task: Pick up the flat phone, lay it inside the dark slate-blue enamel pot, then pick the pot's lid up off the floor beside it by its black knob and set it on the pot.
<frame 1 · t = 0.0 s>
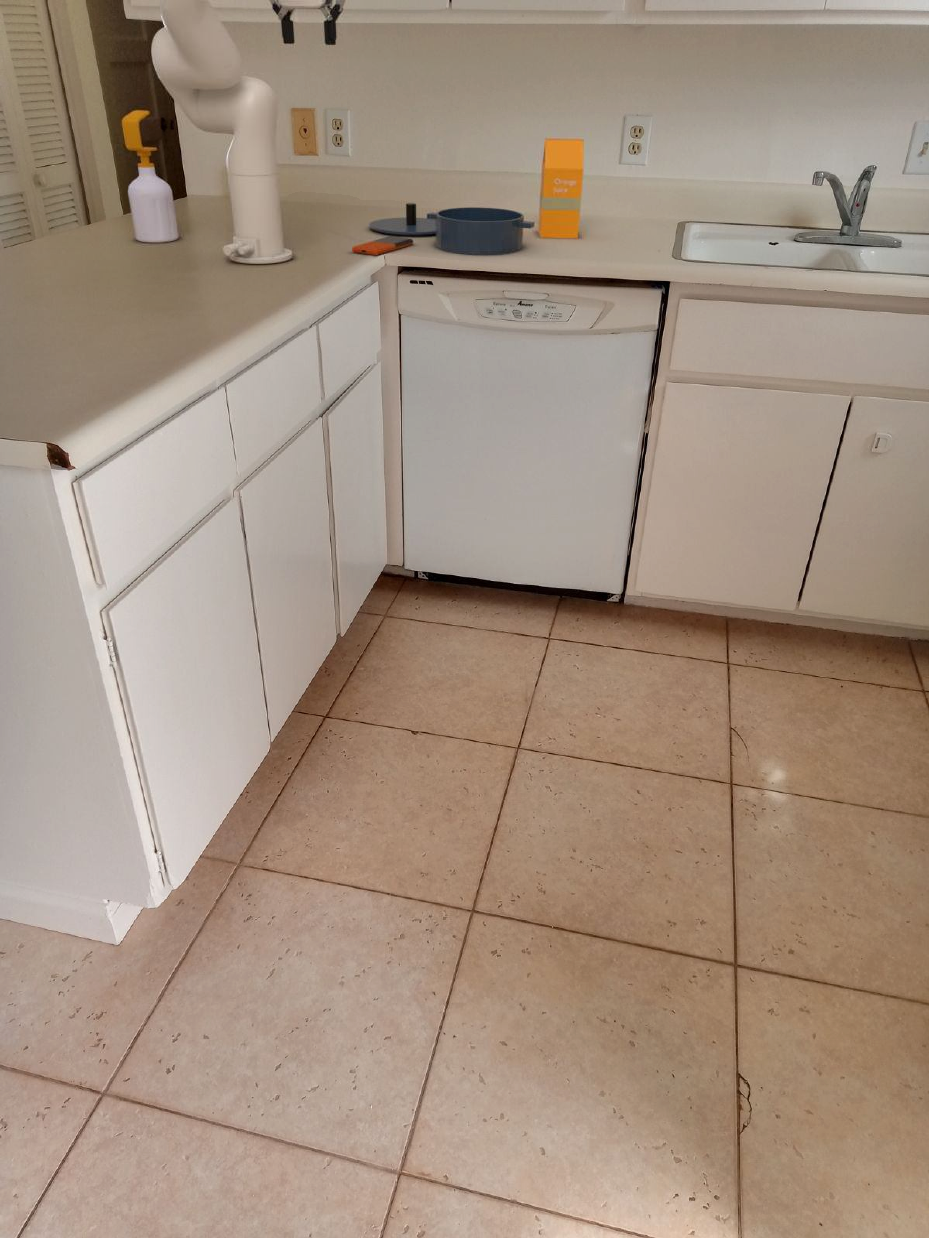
hand: (309, 44, 179), 37 cm above the worktop, tool pointing down, fingers open, 9 cm apart
phone: (383, 249, 191), on the worktop
pot: (479, 246, 196), on the worktop
lid: (411, 227, 211), point 1 cm above the worktop
soap bottle: (157, 240, 195), on the worktop
orange juice: (557, 235, 210), on the worktop
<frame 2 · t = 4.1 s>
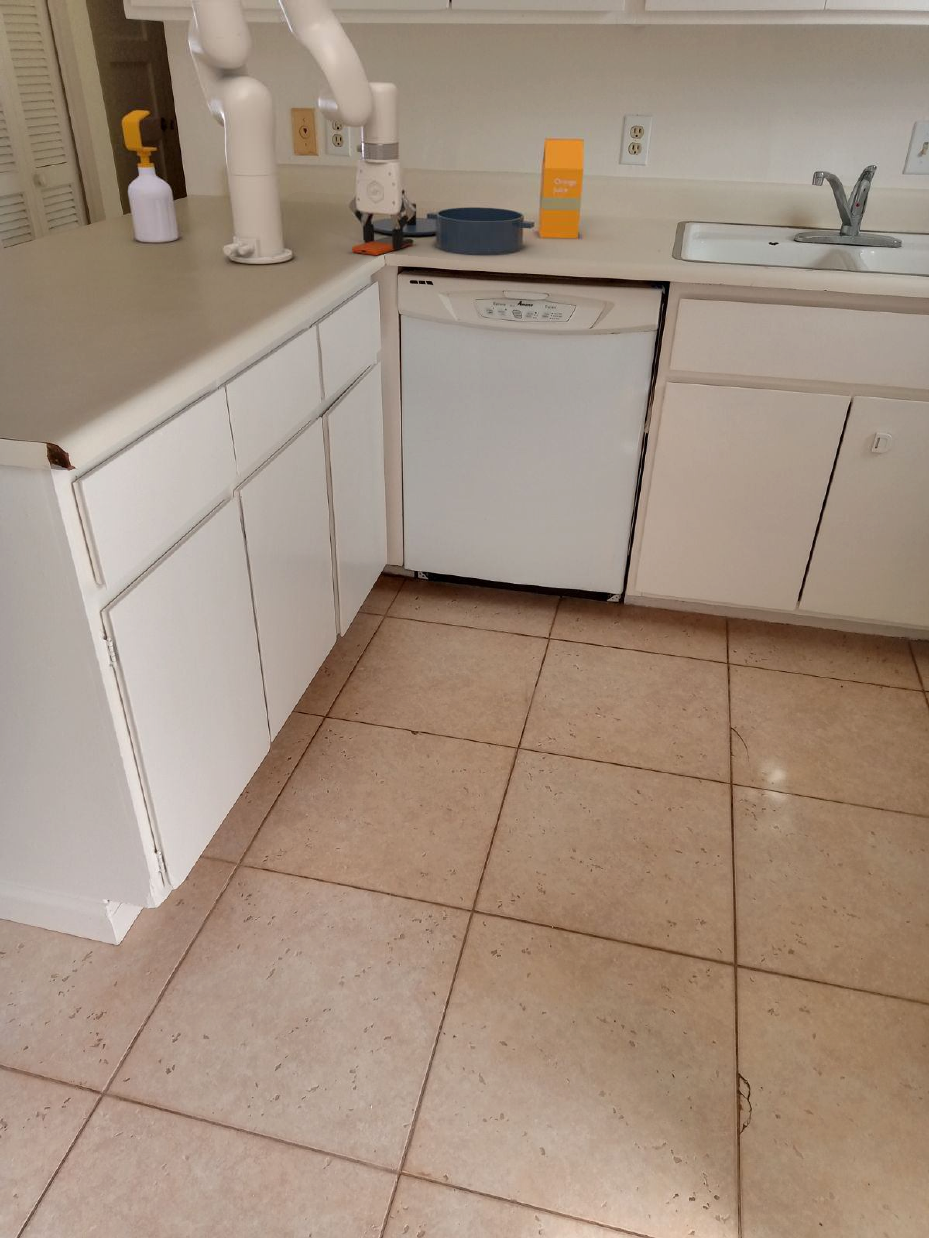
hand: (383, 246, 191), 1 cm above the worktop, tool pointing down, fingers closed on phone, 6 cm apart
phone: (383, 249, 191), on the worktop, touching gripper
everything else where it was.
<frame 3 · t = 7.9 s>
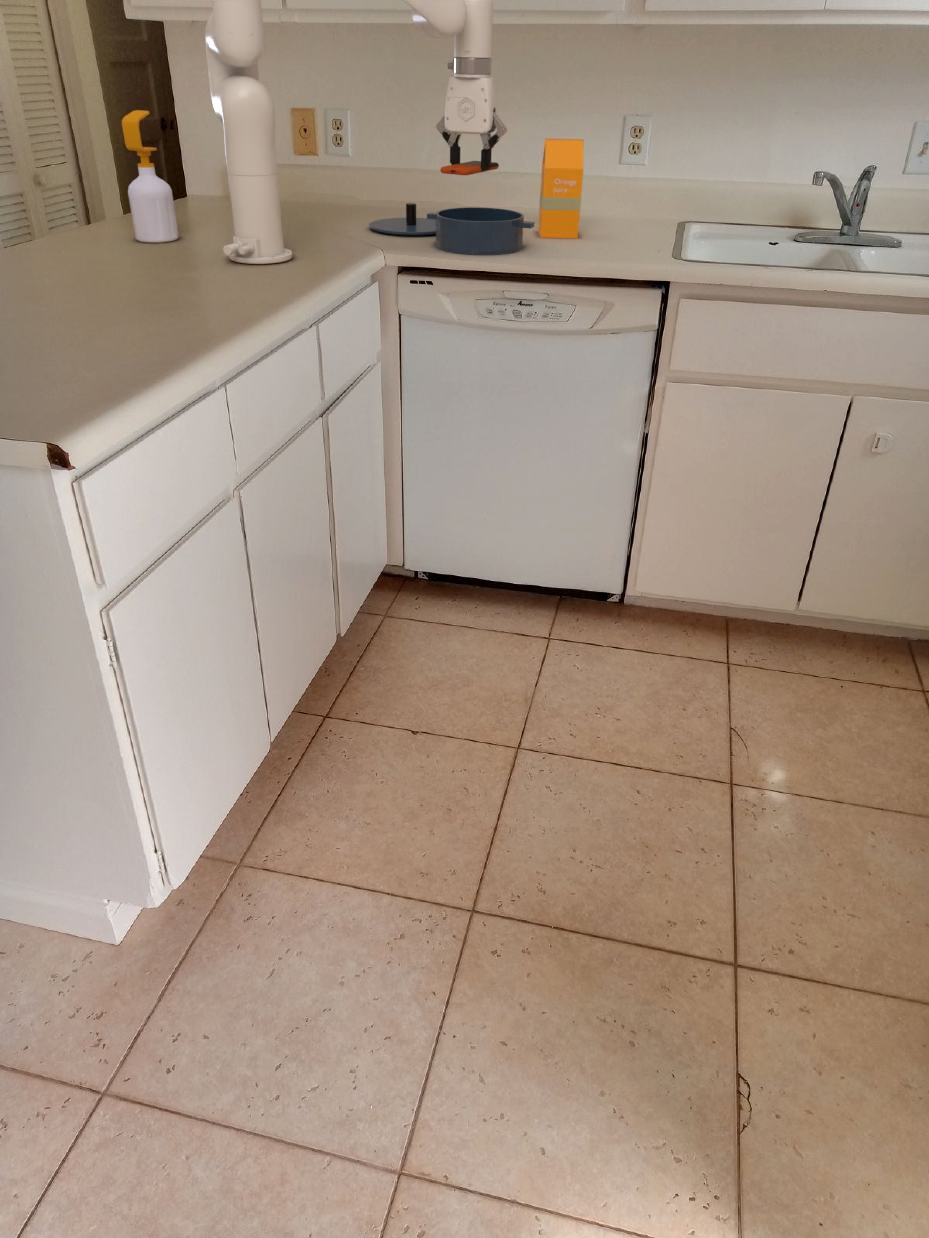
hand: (470, 168, 187), 15 cm above the worktop, tool pointing down, fingers closed on phone, 6 cm apart
phone: (470, 172, 187), point 15 cm above the worktop, touching gripper
everything else where it was.
when the fingers open (1 cm above the worktop, at t = 11.9 s): phone stays where it is, resting on pot.
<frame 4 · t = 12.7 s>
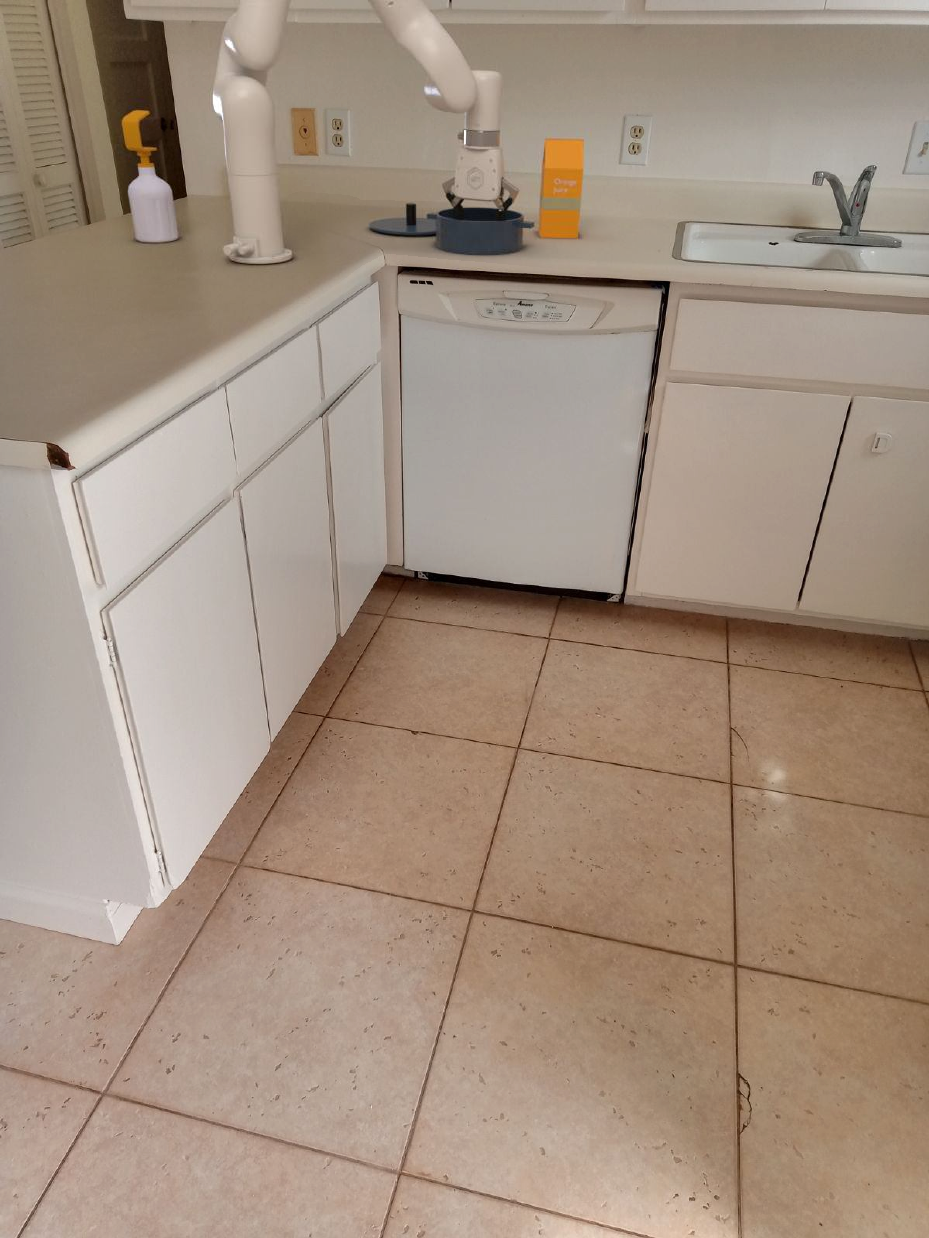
hand: (478, 228, 194), 4 cm above the worktop, tool pointing down, fingers open, 9 cm apart
phone: (478, 244, 196), resting on pot
everything else where it was.
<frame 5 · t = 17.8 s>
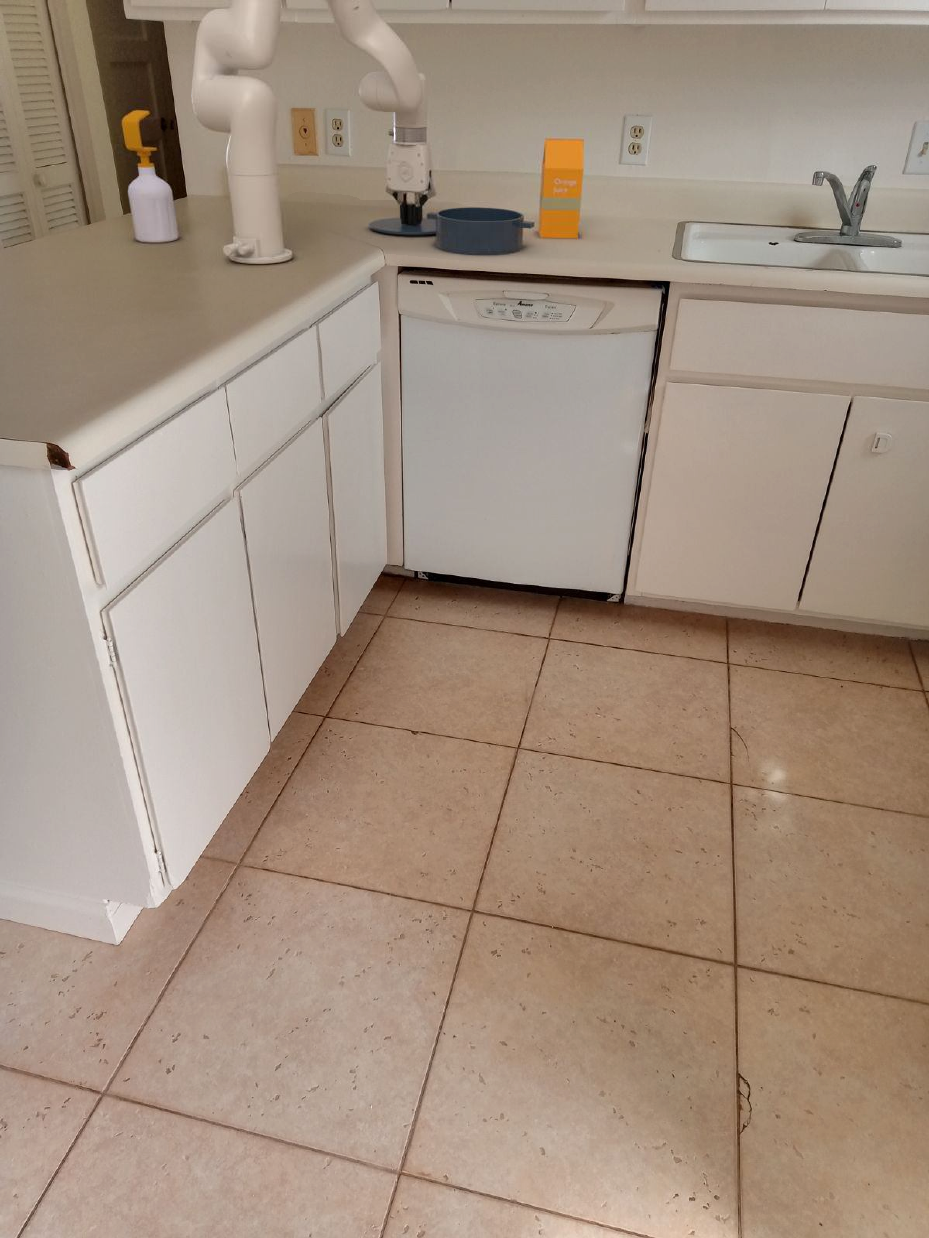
hand: (411, 223, 211), 1 cm above the worktop, tool pointing down, fingers closed on lid, 2 cm apart
lid: (411, 227, 211), point 1 cm above the worktop, touching gripper
everything else where it was.
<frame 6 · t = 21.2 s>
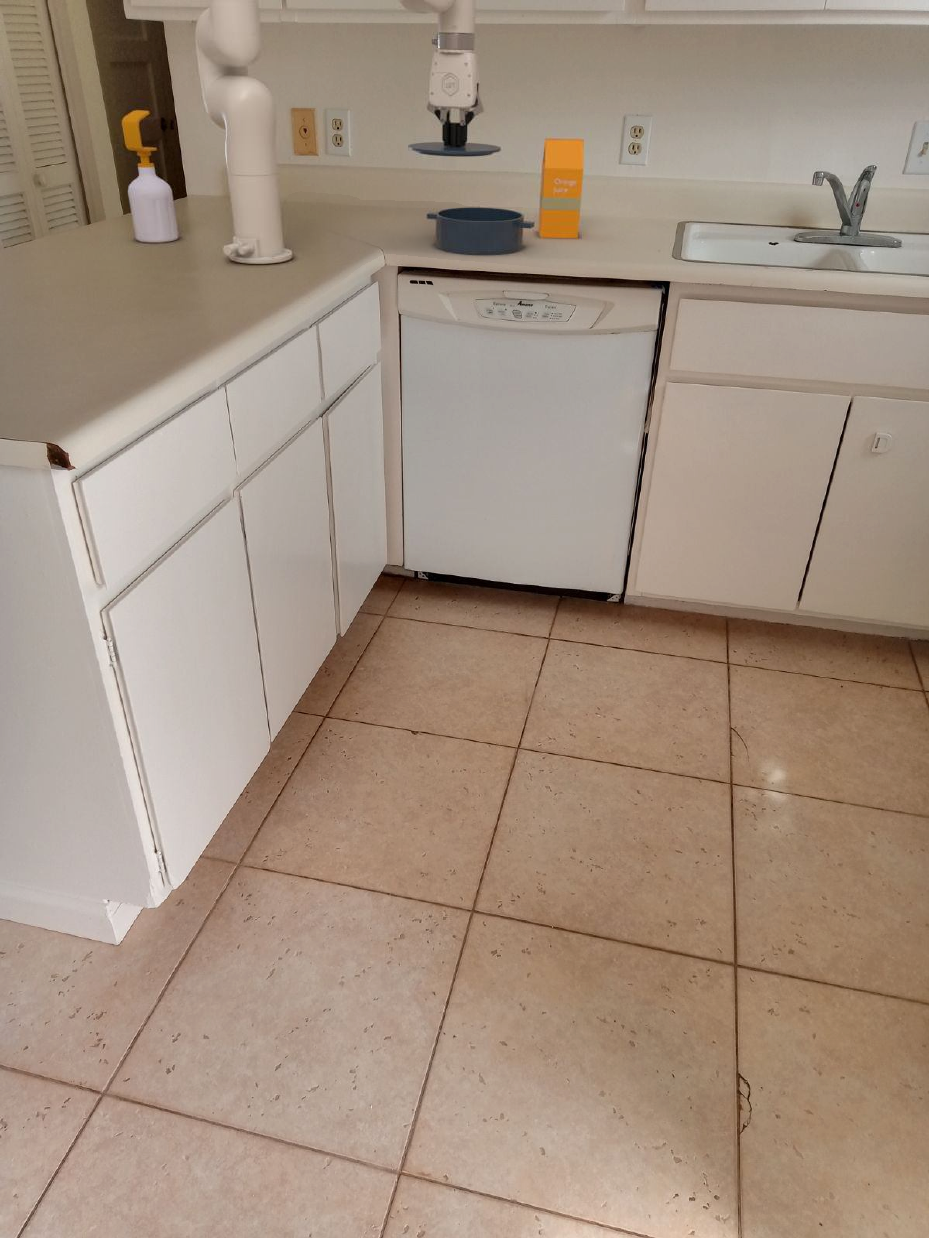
hand: (454, 145, 191), 19 cm above the worktop, tool pointing down, fingers closed on lid, 2 cm apart
lid: (454, 149, 192), point 18 cm above the worktop, touching gripper
everything else where it was.
when the fingers open (7 cm above the worktop, at t = 24.9 s): lid stays where it is, resting on pot.
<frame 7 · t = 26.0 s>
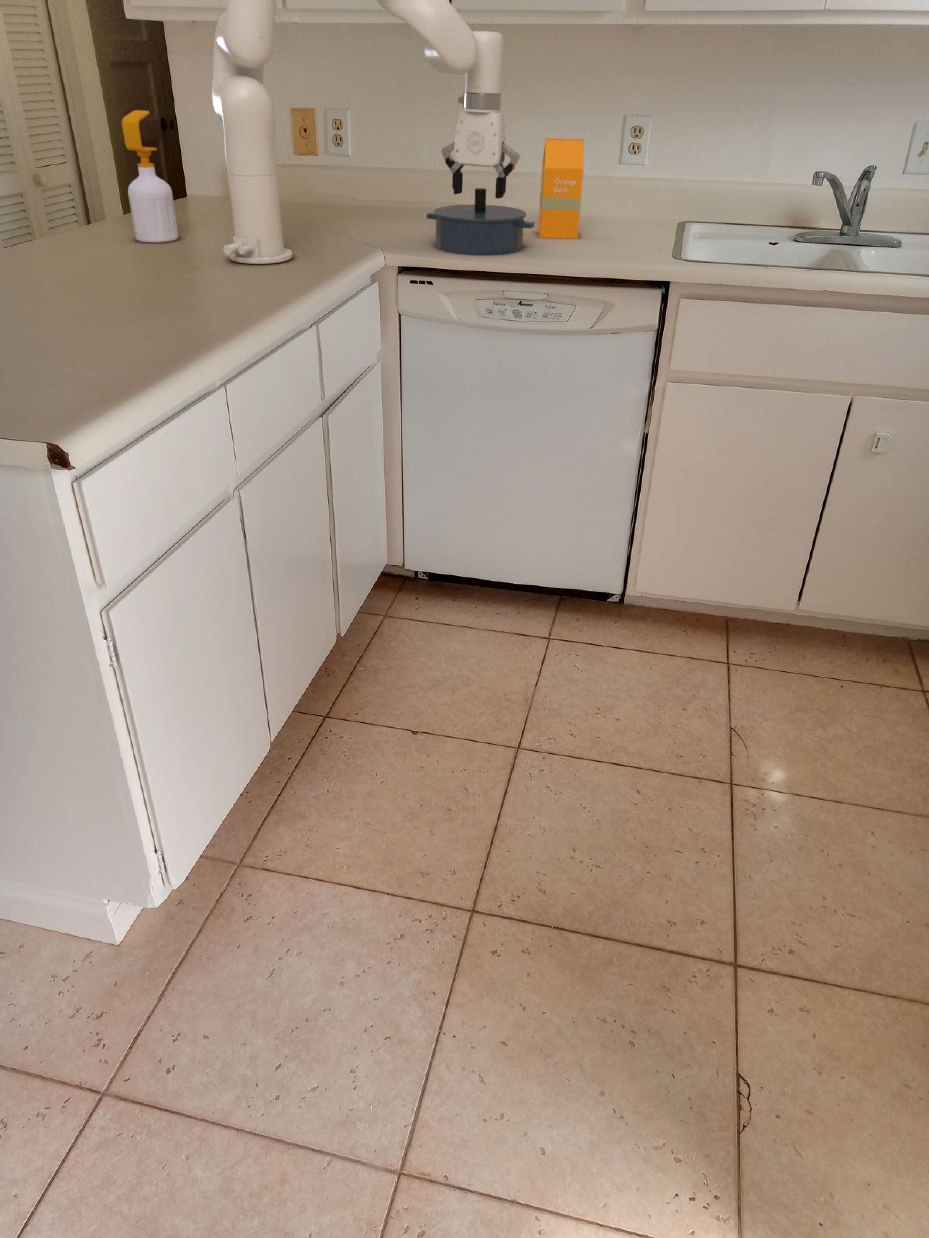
hand: (478, 195, 190), 10 cm above the worktop, tool pointing down, fingers open, 9 cm apart
lid: (479, 214, 192), point 6 cm above the worktop, touching pot
everything else where it was.
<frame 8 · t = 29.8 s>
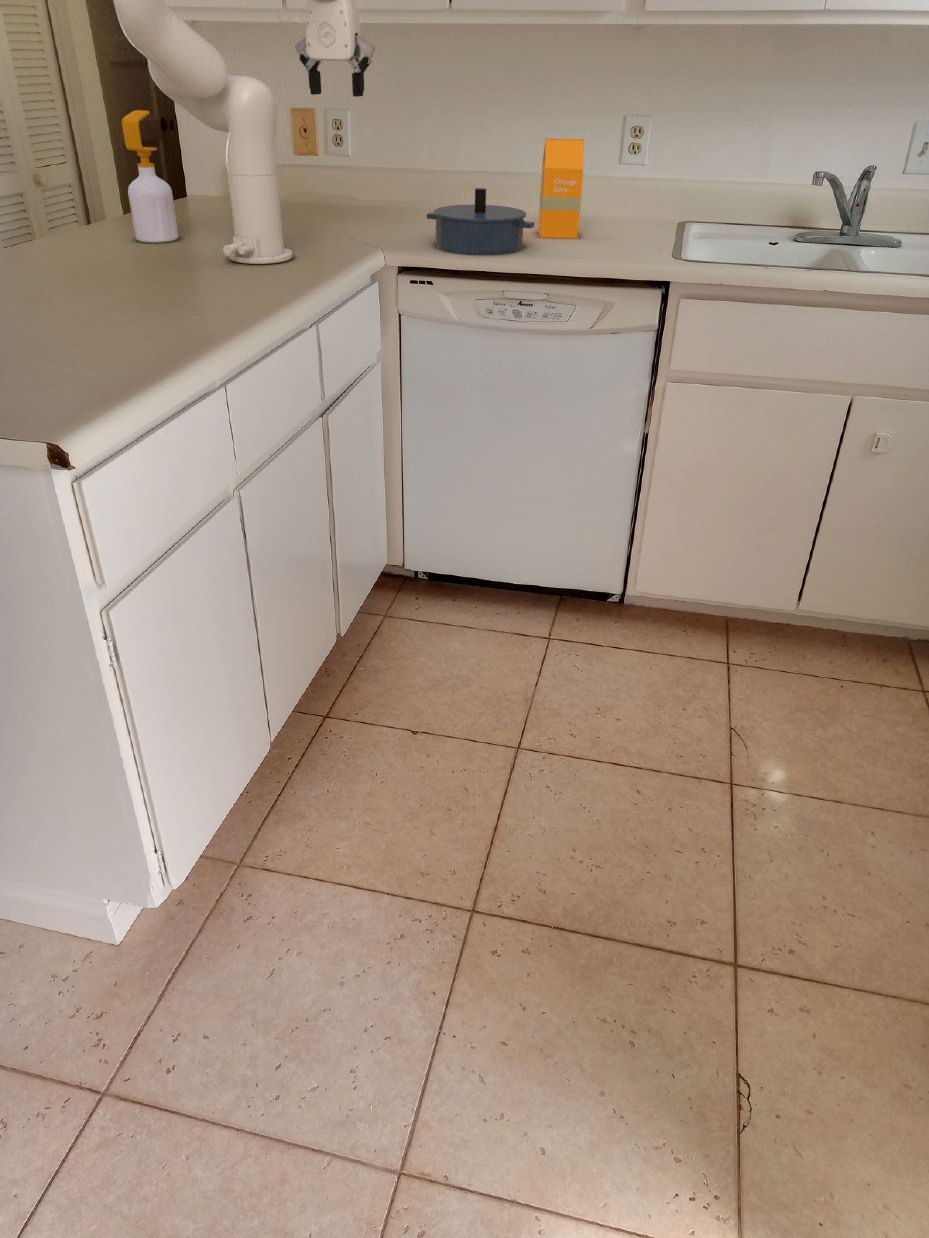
hand: (336, 95, 178), 28 cm above the worktop, tool pointing down, fingers open, 9 cm apart
nothing on the worktop moved.
at the end: phone 0.1 cm off-centre in the pot, point 0.3 cm above the pot's base; lid 0.0 cm off-centre on the pot, point 6.5 cm above the pot's base; lid tilted 0° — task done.
